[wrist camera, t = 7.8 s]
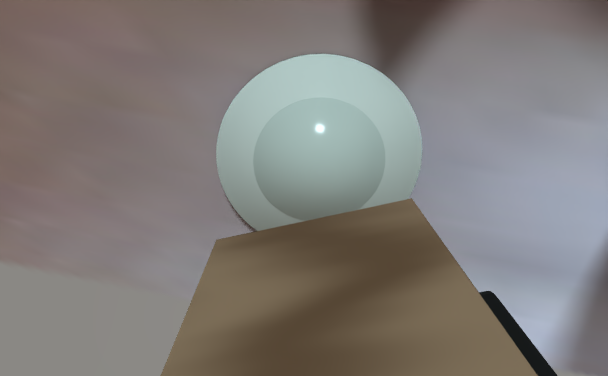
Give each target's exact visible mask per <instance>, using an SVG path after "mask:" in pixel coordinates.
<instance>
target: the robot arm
mask: <svg viewBox="0 0 608 376" xmlns="http://www.w3.org/2000/svg"><path fill="white" fill-rule="evenodd" d="M454 259H455V258H454ZM459 266H460V265H459ZM461 269H462V268H461ZM464 273H465V272H464ZM466 276H467V275H466ZM469 280H470V279H469ZM471 283H472V282H471ZM476 290H477V289H476ZM479 294H480V295H481V297H482V298H483V299H484V301H485V302H486V304H487V305H488V307H489V308H490V309H491V311H492V312H493V314H494V315H495V316H496V318H497V319H498V321H499V322H500V323H501V325H502V326H503V328H504V329H505V330H506V332H507V333H508V335H509V336H510V337H511V339H512V340H513V342H514V343H515V345H516V346H517V347H518V349H519V350H520V352H521V353H522V354H523V356H524V357H525V359H526V360H527V361H528V363H529V364H530V366H531V367H532V368H533V370H534V371H535V373H536V374H537V375H538V376H557V374H556V373H555V372H554V371H553V369H552V368H551V367H550V365H549V364H548V363H547V361H546V360H545V359H544V358H543V356H542V355H541V354H540V352H539V351H538V350H537V348H536V347H535V346H534V345H533V343H532V342H531V341H530V339H529V338H528V337H527V335H526V334H525V333H524V332H523V330H522V329H521V328H520V326H519V325H518V324H517V322H516V321H515V320H514V319H513V317H512V316H511V315H510V313H509V312H508V311H507V309H506V308H505V307H504V306H503V304H502V303H501V302H500V300H499V299H498V298H497V297H496V295H495V294H494V293H492V292H491V291H485V292H479Z"/></svg>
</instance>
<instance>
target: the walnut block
mask: <svg viewBox="0 0 608 376" xmlns="http://www.w3.org/2000/svg"><path fill="white" fill-rule="evenodd" d="M161 376H538V375H537V374H536V373H535V371H534V370H533V368H532V367H531V366H530V364H529V363H528V361H527V360H526V359H525V357H524V356H523V354H522V353H521V352H520V350H519V349H518V347H517V346H516V345H515V343H514V342H513V340H512V339H511V337H510V336H509V335H508V333H507V332H506V330H505V329H504V328H503V326H502V325H501V323H500V322H499V321H498V319H497V318H496V316H495V315H494V314H493V312H492V311H491V309H490V308H489V307H488V305H487V304H486V302H485V301H484V299H483V298H482V297H481V295H480V294H479V292H478V291H477V290H476V288H475V287H474V285H473V284H472V283H471V281H470V280H469V278H468V277H467V276H466V274H465V273H464V271H463V270H462V269H461V267H460V266H459V264H458V263H457V261H456V260H455V259H454V257H453V256H452V254H451V253H450V252H449V250H448V249H447V247H446V246H445V245H444V243H443V242H442V240H441V239H440V238H439V236H438V235H437V233H436V232H435V231H434V229H433V228H432V226H431V225H430V223H429V222H428V221H427V219H426V218H425V216H424V215H423V214H422V212H421V211H420V209H419V208H418V207H417V205H416V204H415V202H414V201H413V200H412V198H411V199H407V200H402V201H397V202H392V203H388V204H383V205H378V206H374V207H369V208H364V209H359V210H355V211H350V212H345V213H341V214H336V215H331V216H326V217H322V218H317V219H312V220H308V221H303V222H298V223H294V224H289V225H284V226H279V227H275V228H270V229H265V230H261V231H256V232H251V233H246V234H242V235H237V236H232V237H228V238H223V239H218V240H216V242H215V245H214V247H213V250H212V252H211V255H210V257H209V259H208V262H207V264H206V267H205V269H204V272H203V274H202V276H201V279H200V281H199V284H198V286H197V289H196V291H195V294H194V296H193V298H192V301H191V303H190V306H189V308H188V311H187V313H186V316H185V318H184V321H183V323H182V325H181V328H180V330H179V333H178V335H177V337H176V340H175V342H174V345H173V347H172V350H171V352H170V354H169V357H168V359H167V362H166V364H165V367H164V369H163V372H162V374H161Z"/></svg>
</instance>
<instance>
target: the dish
mask: <svg viewBox="0 0 608 376" xmlns="http://www.w3.org/2000/svg"><path fill="white" fill-rule="evenodd" d="M216 156H217V168H218V174H219V177H220V181H221V184H222V187H223V189H224V191H225V194H226V196H227V198H228V199H229V201H230V203H231V204H232V206H233V207H234V209H235V210H236V211H237V212H238V214H239V215H240V216H241V217H242V218H243V219H244V220H245V221H246V222H247V223H248V224H249V225H250V226H252V227H253V228H254V229H256V230H257V231H261V230H265V229H270V228H275V227H279V226H284V225H289V224H294V223H298V222H303V221H308V220H312V219H317V218H322V217H326V216H331V215H336V214H341V213H345V212H350V211H355V210H359V209H364V208H369V207H374V206H378V205H383V204H388V203H392V202H397V201H402V200H407V199H408V198H409V197H410V195H411V193H412V191H413V189H414V187H415V184H416V182H417V179H418V175H419V172H420V168H421V160H422V138H421V132H420V127H419V124H418V121H417V117H416V115H415V113H414V111H413V109H412V107H411V104H410V103H409V101H408V100H407V98H406V97H405V95H404V94H403V92H402V91H401V90H400V89H399V88H398V87H397V86H396V85H395V84H394V83H393V82H392V81H391V80H390V79H389V78H387V77H386V76H385V75H384V74H383V73H381V72H380V71H378V70H376V69H374V68H373V67H371V66H369V65H367V64H365V63H362V62H360V61H357V60H355V59H352V58H349V57H345V56H341V55H334V54H325V53H322V54H306V55H301V56H295V57H292V58H289V59H286V60H283V61H280V62H278V63H276V64H274V65H272V66H270V67H268V68H267V69H265V70H264V71H263V72H261V73H260V74H258V75H257V76H255V77H254V78H253V79H252V80H251V81H250V82H249V83H248V84H247V85H245V86H244V87H243V88H242V90H241V91H240V92H239V93H238V95H237V96H236V97H235V98H234V100H233V101H232V103H231V105H230V106H229V108H228V110H227V111H226V114H225V116H224V118H223V121H222V123H221V127H220V130H219V134H218V140H217V148H216Z"/></svg>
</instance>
